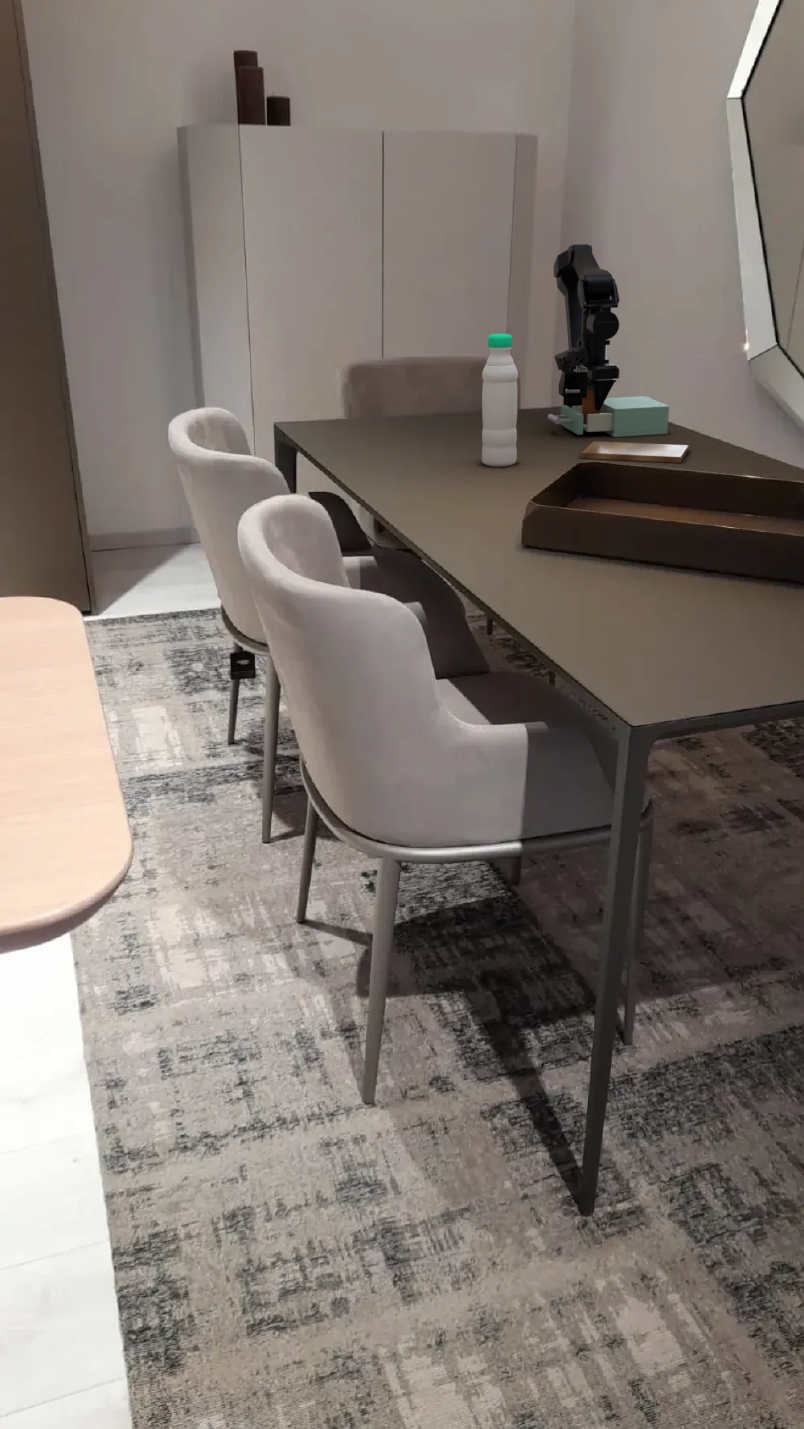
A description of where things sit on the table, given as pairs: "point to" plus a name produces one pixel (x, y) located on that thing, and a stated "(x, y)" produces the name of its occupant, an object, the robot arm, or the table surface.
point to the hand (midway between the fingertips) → (591, 407)
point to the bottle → (588, 404)
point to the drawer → (574, 419)
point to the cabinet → (637, 416)
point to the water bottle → (499, 404)
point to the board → (635, 452)
